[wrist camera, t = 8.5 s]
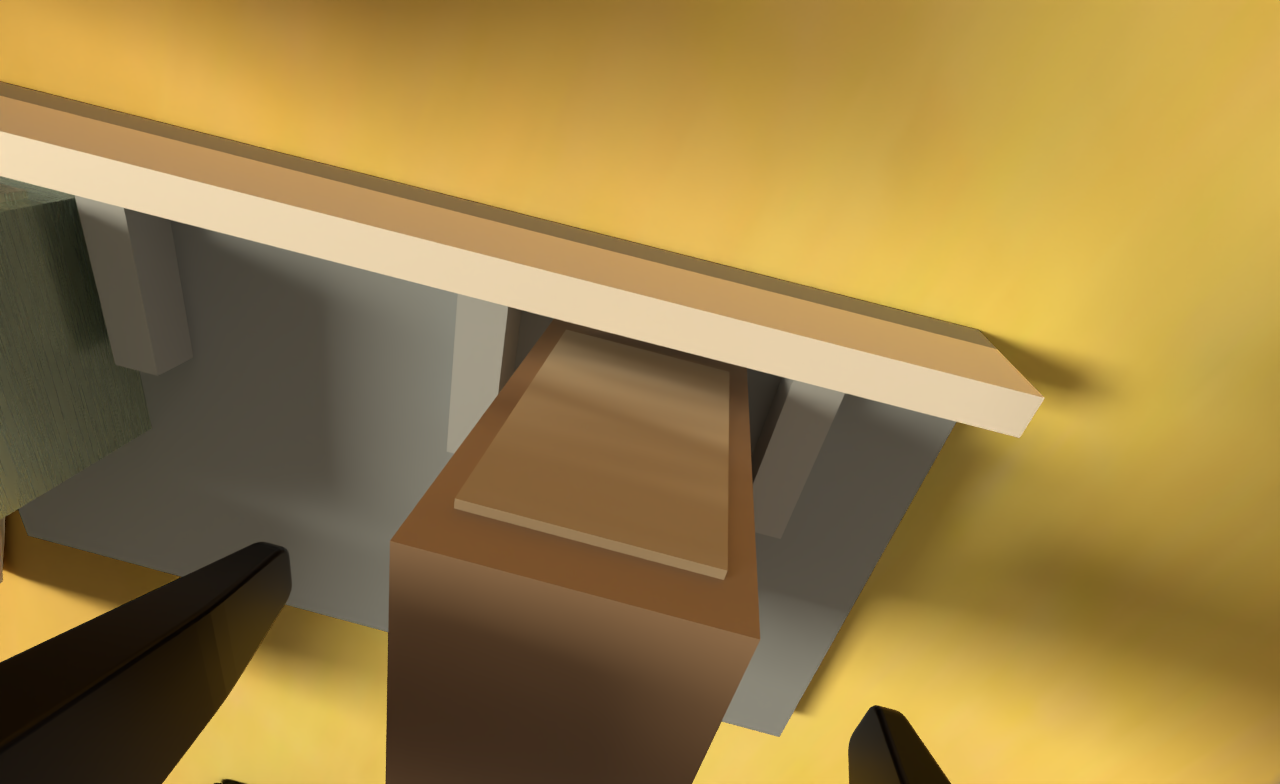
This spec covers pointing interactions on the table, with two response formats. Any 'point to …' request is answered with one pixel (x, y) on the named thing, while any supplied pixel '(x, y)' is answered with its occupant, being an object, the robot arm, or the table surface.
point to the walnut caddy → (578, 575)
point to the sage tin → (54, 351)
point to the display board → (452, 371)
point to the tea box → (2, 546)
